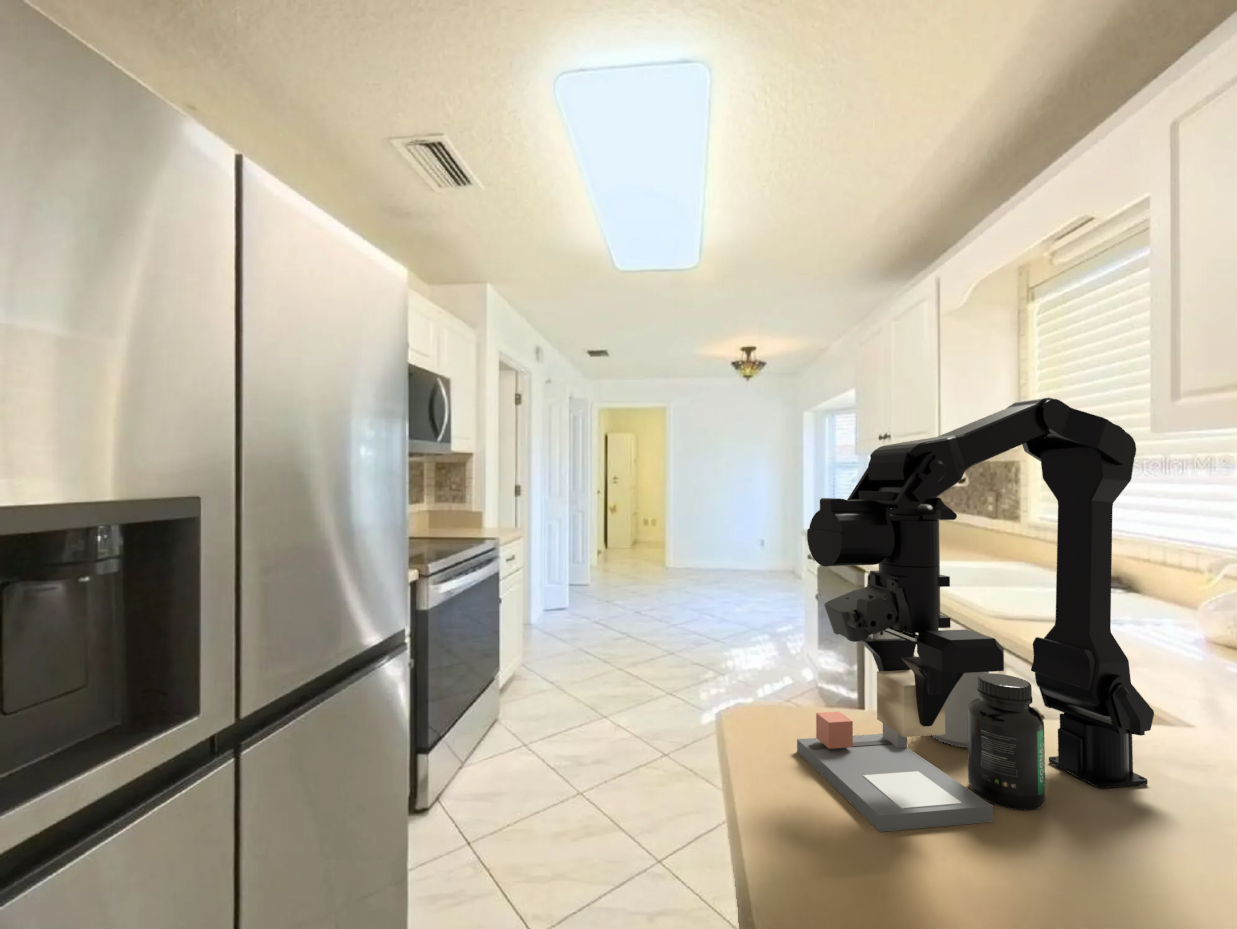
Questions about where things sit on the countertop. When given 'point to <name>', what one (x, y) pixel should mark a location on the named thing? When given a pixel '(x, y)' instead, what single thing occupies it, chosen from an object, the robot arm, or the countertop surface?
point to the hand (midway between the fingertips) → (910, 716)
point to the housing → (903, 705)
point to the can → (959, 710)
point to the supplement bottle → (1006, 744)
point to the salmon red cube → (834, 730)
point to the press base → (894, 783)
